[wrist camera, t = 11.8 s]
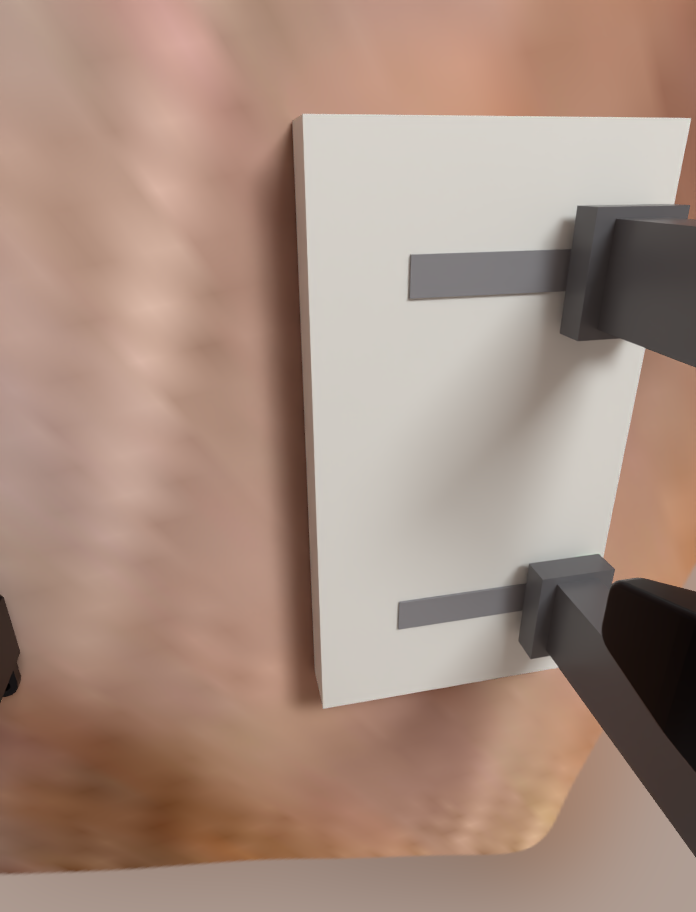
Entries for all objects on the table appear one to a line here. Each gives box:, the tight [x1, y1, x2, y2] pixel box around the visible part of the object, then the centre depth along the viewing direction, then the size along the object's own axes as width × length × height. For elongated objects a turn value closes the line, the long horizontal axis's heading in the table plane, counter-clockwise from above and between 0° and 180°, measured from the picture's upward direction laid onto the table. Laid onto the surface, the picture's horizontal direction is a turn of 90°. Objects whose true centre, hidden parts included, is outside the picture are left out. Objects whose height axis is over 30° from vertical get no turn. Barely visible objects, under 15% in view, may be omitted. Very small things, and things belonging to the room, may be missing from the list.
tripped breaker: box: [518, 554, 696, 857], centre depth 19 cm, size 3×4×9 cm
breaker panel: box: [292, 114, 691, 709], centre depth 21 cm, size 11×20×2 cm, turn 0°
